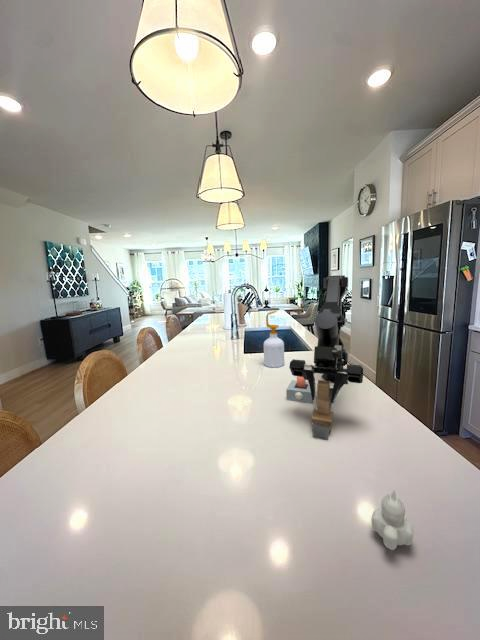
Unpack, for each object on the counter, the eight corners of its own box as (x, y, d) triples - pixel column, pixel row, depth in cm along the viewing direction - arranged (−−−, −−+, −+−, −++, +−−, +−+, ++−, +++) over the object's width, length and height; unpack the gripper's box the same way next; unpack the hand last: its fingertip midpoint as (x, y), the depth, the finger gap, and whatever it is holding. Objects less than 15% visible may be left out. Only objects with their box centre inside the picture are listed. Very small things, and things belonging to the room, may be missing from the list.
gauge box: (292, 389, 94) (291, 380, 93) (315, 392, 90) (315, 382, 90) (286, 399, 86) (286, 389, 86) (311, 403, 83) (311, 392, 82)
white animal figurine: (412, 531, 41) (416, 485, 40) (411, 570, 36) (415, 519, 35) (374, 515, 44) (376, 472, 43) (367, 549, 39) (369, 501, 38)
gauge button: (297, 385, 90) (297, 375, 89) (306, 386, 89) (306, 376, 88) (296, 389, 87) (296, 378, 87) (304, 390, 86) (304, 379, 86)
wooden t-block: (314, 417, 73) (314, 379, 71) (333, 420, 71) (333, 382, 69) (311, 427, 68) (311, 387, 66) (331, 431, 66) (332, 390, 64)
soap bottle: (283, 368, 115) (283, 311, 111) (262, 367, 117) (261, 312, 113) (284, 361, 124) (283, 309, 120) (265, 361, 126) (263, 309, 122)
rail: (323, 396, 87) (323, 387, 87) (335, 398, 86) (335, 388, 85) (312, 436, 66) (312, 425, 66) (327, 439, 65) (328, 427, 64)
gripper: (290, 331, 74) (280, 384, 66) (364, 335, 67) (363, 395, 59) (296, 351, 83) (288, 400, 74) (362, 356, 75) (361, 411, 67)
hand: (322, 401), depth 68 cm, fingers open, 4 cm apart
